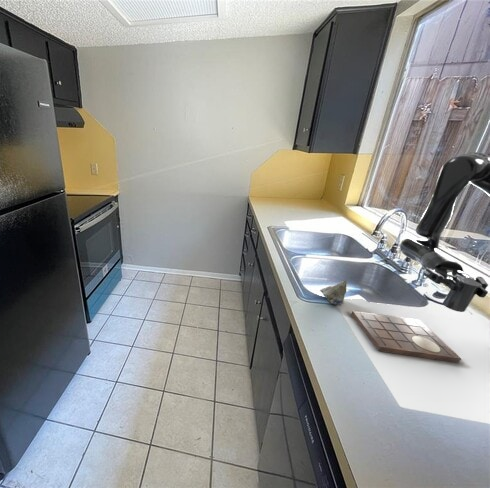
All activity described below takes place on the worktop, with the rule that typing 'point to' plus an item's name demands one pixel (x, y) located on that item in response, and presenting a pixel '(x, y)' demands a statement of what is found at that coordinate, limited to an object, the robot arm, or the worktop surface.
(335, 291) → the rock
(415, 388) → the worktop surface
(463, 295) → the black cylinder
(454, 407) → the worktop surface
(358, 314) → the board
